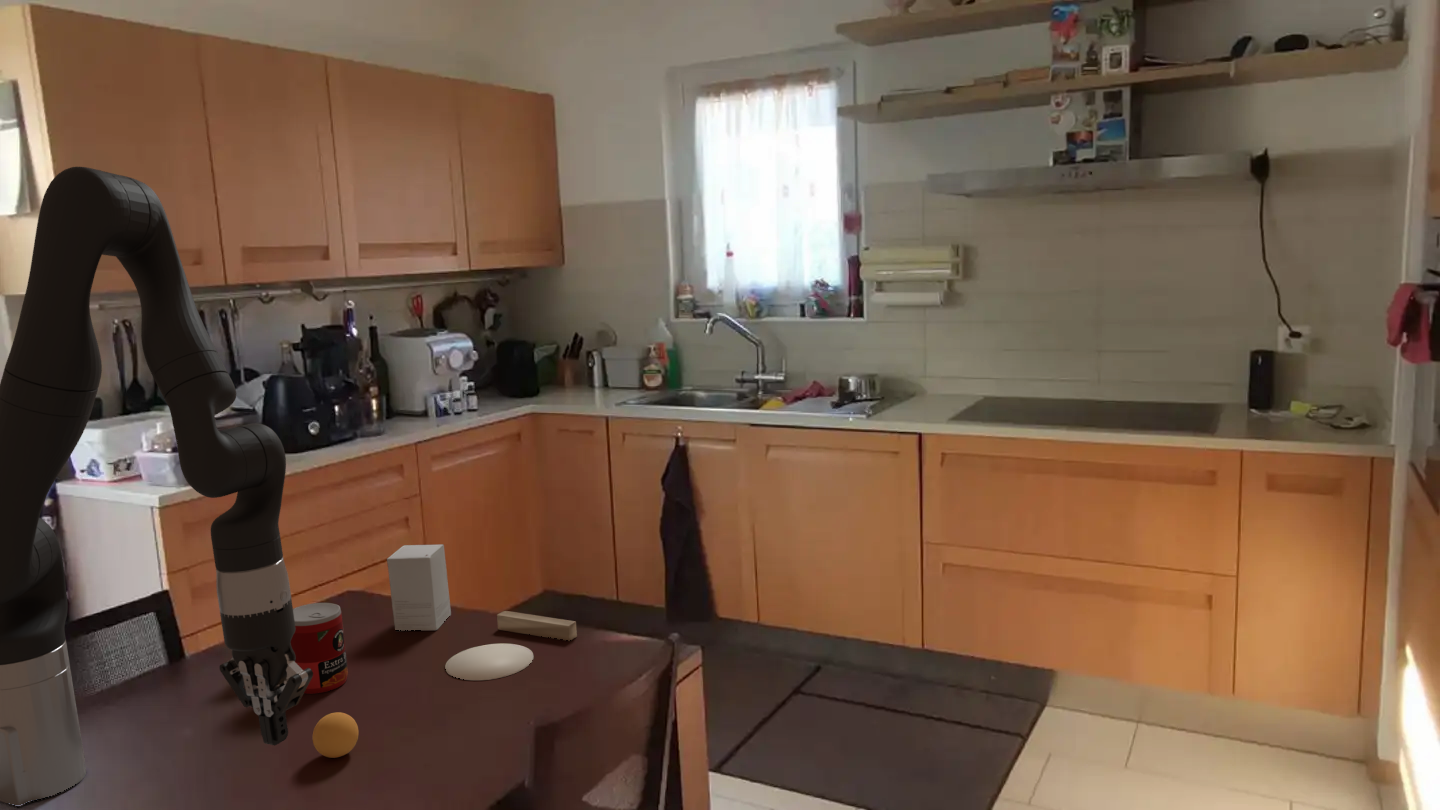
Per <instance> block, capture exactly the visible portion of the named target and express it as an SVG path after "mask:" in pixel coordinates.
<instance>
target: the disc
mask: <svg viewBox="0 0 1440 810" xmlns="http://www.w3.org/2000/svg"><path fill="white" fill-rule="evenodd" d="M532 660H533V661H534V653H533V651H532V650H531V649H530V648H528V647H526V646H523V645H519V644H514V643H490V644H485V645H479V646H474V647H470V648H467V649H464V650H462V651H460V652H457V654H454V655H453V656H451V657H450V658H449V659H448V660H447V661H446V663H445V666H444V667H445V669H446V670H445V672H446V673H447V674H448V675H449V676H450V677H452V676H453V678H455V677H456V679H458V678H460V680H463V679H464V681H490V680H496V679H499V678H505V677H508V676H511V675H514V674H516V673H519V672H520V671H523V670H524V669H526V668H527V667H529V666H530V665H531V664H530V663H532V662H533V661H532ZM529 664H530V665H529Z"/></svg>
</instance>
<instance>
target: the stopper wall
mask: <svg viewBox="0 0 1440 810" xmlns="http://www.w3.org/2000/svg"><path fill="white" fill-rule="evenodd" d="M496 617H497V618H496V621H497V630H499V631H504V632H505V631H506V632H511V633H516V634H524V635H529V634H530V636H537V637H541V636H542V637H544V638H548V637H549V639H554V638H557V639H556V640H560V639H563V640H562V641H566V640H568V641H567V642H571V641H572V640H574V639H575V638H577V637H578V634H577V633H578V631H577V621H576V620H575V621H574V620H570V619H569V620H567V619H563V618H555V617H550V616H549V617H548V616H543V615H537V614H536V615H535V614H530V613H523V612H516V611H508V610H504V611H501V612H500V613H498V614H496ZM550 637H551V638H550ZM570 640H571V641H570Z"/></svg>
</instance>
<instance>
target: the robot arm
mask: <svg viewBox="0 0 1440 810" xmlns="http://www.w3.org/2000/svg"><path fill="white" fill-rule="evenodd" d="M39 208H40V209H39V212H38V218H37V223H36V228H35V229H36V230H35V236H34V244H33V250H32V256H31V262H30V268H29V274H28V275H29V276H28V281H27V285H26V289H25V294H24V297H23V303H22V305H21V310H20V314H19V318H18V322H17V327H16V330H15V334H14V336H13V337H14V338H13V340H12V344H11V348H10V351H9V353H8V355H7V359H6V362H5V365H4V369H3V372H2V376H1V380H0V802H2V803H5V804H7V803H10V804H14V805H21V804H24V803H26V802H28V801H31V800H36V799H41V798H45V797H48V796H51V795H54V796H56V795H58V794H57V793H59V792H61V793H63V792H65V791H67V790H69V789H71V788H73V787H74V786H75V784H76V785H78V783H80V782H81V781H82V780H83V779H84V778H85V776H86V774H87V768H86V761H85V760H86V759H85V752H84V748H83V741H82V736H81V729H80V721H79V716H78V709H77V704H76V703H77V702H76V696H75V691H74V690H75V689H74V686H73V685H74V684H73V678H72V670H71V664H70V658H69V652H68V644H67V639H66V633H65V631H66V630H65V625H66V620H67V616H68V605H69V604H68V596H67V595H68V594H67V584H66V577H65V575H66V574H65V567H64V560H63V558H64V557H63V554H62V549H61V548H62V547H61V545H60V542H59V539H58V537H57V534H56V533H55V531H54V530H53V528H52V527H51V526H50V524H48V522H46V520H43V519H42V518H41V512H42V509H43V507H44V504H45V501H46V498H47V495H48V494H49V492H50V490H51V488H52V487H53V485H54V483H55V481H56V479H57V478H58V476H59V474H60V473H61V471H62V470H63V468H64V466H65V464H67V462H68V460H69V459H70V457H71V456H72V454H73V452H74V451H75V449H76V447H77V445H78V444H79V441H80V440H81V437H82V436H83V433H84V432H85V429H86V427H87V424H88V422H89V419H90V417H91V414H92V411H93V407H94V404H95V400H96V398H97V393H98V390H99V387H100V384H101V378H102V371H103V368H102V366H103V365H102V357H101V353H100V348H99V343H98V340H97V336H96V333H95V329H94V325H93V322H92V318H91V317H92V316H91V311H90V310H91V309H90V302H91V292H92V287H93V284H94V279H95V276H96V272H97V269H98V266H99V263H100V261H101V258H102V255H103V256H110V257H115V258H116V259H117V260H118V262H120V264H121V265H122V266H123V268H124V269H125V271H126V273H127V274H128V276H129V277H130V278H131V281H132V282H133V285H134V287H135V290H136V291H137V295H138V297H139V303H140V310H141V322H140V323H141V326H140V327H141V328H140V329H141V332H140V333H141V334H140V335H141V336H140V337H141V346H142V351H143V356H144V359H145V362H146V365H147V367H148V369H149V372H150V373H151V376H152V378H153V379H154V381H155V384H156V385H157V388H158V389H159V391H160V393H161V395H162V397H163V399H164V401H165V402H166V405H167V406H168V409H169V411H170V416H171V417H170V418H171V422H172V426H173V432H174V436H175V441H176V442H175V443H176V448H177V454H178V460H179V465H180V471H181V473H182V476H183V477H184V479H185V480H186V483H188V485H189V486H190V488H192V489H193V490H194V491H195V492H197V493H198V494H200V495H202V496H203V497H207V498H211V499H215V498H216V499H217V498H222V497H227V496H229V495H232V494H236V493H237V494H236V498H235V502H234V503H233V505H232V506H231V507H230V508H229V509H228V510H226V511H225V512H223V513H222V514H220V515H219V516H217V517H216V518H215V519H214V520H213V521H212V522H211V526H210V540H211V547H212V553H213V558H214V559H213V560H214V566H215V573H216V579H215V580H216V581H215V583H216V595H217V602H218V609H219V614H220V622H221V627H222V634H223V640H224V645H225V646H226V647H227V648H228V649H229V650H231V656H232V657H231V658H230V659H229V660H227V661H225V662H223V663H221V664H220V665H219V671H220V673H221V675H222V676H223V677H224V679H225V681H226V682H227V683H228V685H229V686H230V688H231V689H232V691H233V692H234V694H235V695H236V696H237V698H238V699H239V701H240V703H241V704H242V705H243V706H244V707H245V708H246V709H248V708H249V707H250V708H253V712H254V713H255V714H256V715H257V716H258V724H259V728H260V735H261V737H262V740H263V744H266V745H270V746H277V745H279V744H280V743H282V742H284V741H285V740H287V738H288V735H289V727H288V722H287V721H288V719H287V714H286V713H287V712H286V711H287V710H290V709H292V708H293V707H296V706H297V705H299V703H300V701H301V700H302V698H303V696H304V694H305V693H304V692H305V690H306V688H307V686H308V685H309V683H310V681H311V679H312V677H313V672H312V670H311V669H310V668H307V669H305V670H302V669H301V668H300V667H299V666H298V665H297V664H296V663H295V659H296V656H295V653H294V651H293V649H292V647H291V643H290V642H291V639H292V636H293V635H294V633H295V630H296V628H295V620H294V613H293V609H294V607H293V599H292V593H291V586H290V580H289V573H288V570H287V567H286V563H285V559H284V553H283V552H284V551H283V545H282V539H281V532H280V528H279V520H280V514H281V507H282V503H283V502H282V501H283V494H284V486H285V479H286V474H287V473H286V471H287V470H286V469H287V460H286V459H287V458H286V452H285V451H286V450H285V449H284V445H283V442H282V440H281V439H280V438H279V436H278V434H277V433H276V432H275V431H274V430H273V429H272V428H271V427H269V426H267V425H266V424H262V423H256V422H255V423H248V424H244V425H243V424H242V425H239V426H235V427H231V428H226V429H223V430H219V429H218V427H217V425H216V416H217V415H218V414H220V413H222V412H224V411H226V410H227V409H228V408H230V407H231V406H232V405H233V403H234V402H235V401H236V398H237V390H236V386H235V384H234V382H233V380H232V378H231V376H230V374H229V372H228V371H227V368H226V366H225V364H224V362H223V361H222V358H221V357H220V355H219V353H218V351H217V348H216V347H215V345H214V343H213V341H212V338H211V337H210V334H209V332H208V331H207V328H206V327H205V324H204V322H203V321H202V317H201V316H200V313H199V311H198V309H197V308H198V307H197V305H196V303H195V302H196V301H195V300H194V297H193V294H192V290H191V288H190V285H189V282H188V278H187V275H186V273H185V269H184V267H183V266H184V265H183V264H182V259H181V257H180V254H179V251H178V248H177V245H176V241H175V238H174V235H173V234H174V233H173V232H172V228H171V225H170V222H169V219H168V216H167V213H166V211H165V209H164V206H163V204H162V202H161V200H160V198H159V196H158V194H156V192H155V191H154V190H153V188H152V187H150V186H149V185H147V184H146V183H145V182H143V181H140V180H138V179H135V178H132V177H129V176H125V175H120V174H116V173H112V172H108V171H104V170H100V169H95V168H92V167H85V166H72V167H68V168H65V169H64V170H62V171H61V172H59V173H58V174H56V176H55V177H54V178H53V179H52V180H51V181H50V183H49V185H48V187H47V188H46V190H45V192H44V195H43V198H42V199H41V204H40V207H39ZM72 786H73V787H72ZM70 787H71V788H70ZM68 788H69V789H68ZM66 789H67V790H66ZM64 790H65V791H64ZM55 794H56V795H55ZM59 794H60V793H59ZM51 797H52V796H51ZM48 798H49V797H48ZM45 799H46V798H45ZM41 800H42V799H41ZM10 804H9V805H10ZM24 805H25V804H24Z"/></svg>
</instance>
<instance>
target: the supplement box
mask: <svg viewBox="0 0 1440 810" xmlns="http://www.w3.org/2000/svg"><path fill="white" fill-rule="evenodd" d="M386 563H387V570H388V571H387V572H388V579H389V587H390V596H391V598H390V599H391V607H392V614H393V622H394V623H393V624H394V629H395V630H399V631H398V632H404V631H405V630H406V631H405V632H409V631H411V630H414V631H415V630H421V631H437V630H439V628H440V627H441V626H442V625H443V624H444V623H445V622H446V621H447V620H448V619H449V618H450V617H451V616H452V611H451V610H452V609H451V601H450V593H449V591H450V590H449V583H448V582H449V581H448V571H447V561H446V552H445V545H444V544H441V543H440V544H412V545H411V544H408V545H407V544H405V545H402V546H401V547H400V548H398V549H397V550H396V551H395V552H394V553H392V554H391V555H390V556H388V558H387V557H386ZM449 616H450V617H449ZM448 617H449V618H448ZM447 618H448V619H447ZM446 619H447V620H446ZM444 621H445V622H444ZM395 630H394V631H395ZM400 630H401V631H400ZM407 630H408V631H407Z"/></svg>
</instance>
